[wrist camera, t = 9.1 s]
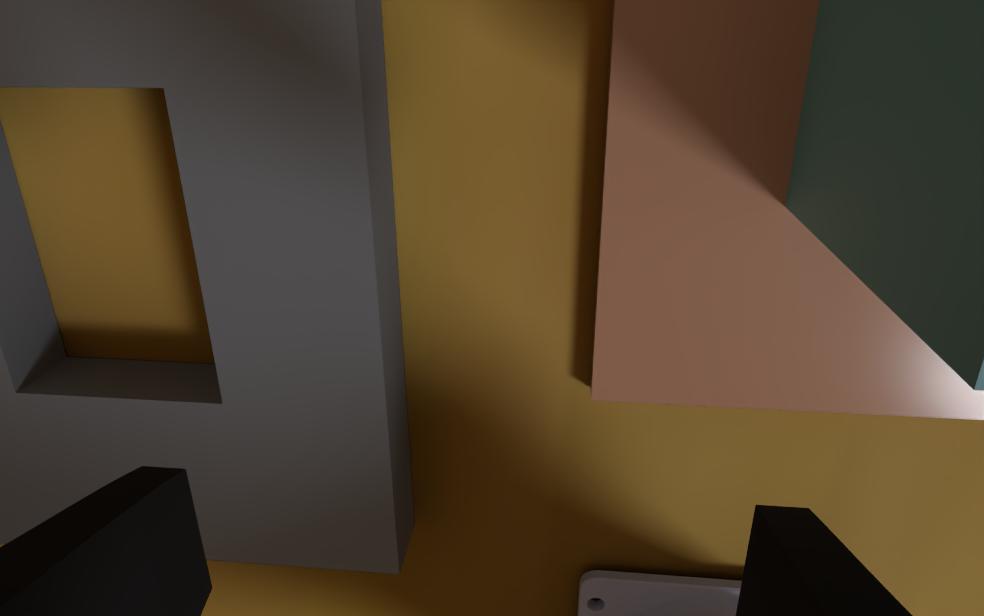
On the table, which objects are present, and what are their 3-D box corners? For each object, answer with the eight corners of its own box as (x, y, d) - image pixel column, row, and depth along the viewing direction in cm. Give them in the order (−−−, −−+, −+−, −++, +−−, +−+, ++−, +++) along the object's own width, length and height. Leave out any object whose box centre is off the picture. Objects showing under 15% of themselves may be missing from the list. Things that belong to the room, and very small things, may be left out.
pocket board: (414, 524, 21) (399, 574, 19) (-15, 495, 22) (-67, 538, 21) (368, -198, 14) (336, -228, 12) (-262, -175, 15) (-377, -200, 13)
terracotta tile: (1078, 412, 17) (1095, 425, 17) (590, 388, 18) (590, 400, 18) (1421, -468, 11) (1465, -493, 10) (638, -417, 12) (641, -437, 12)
